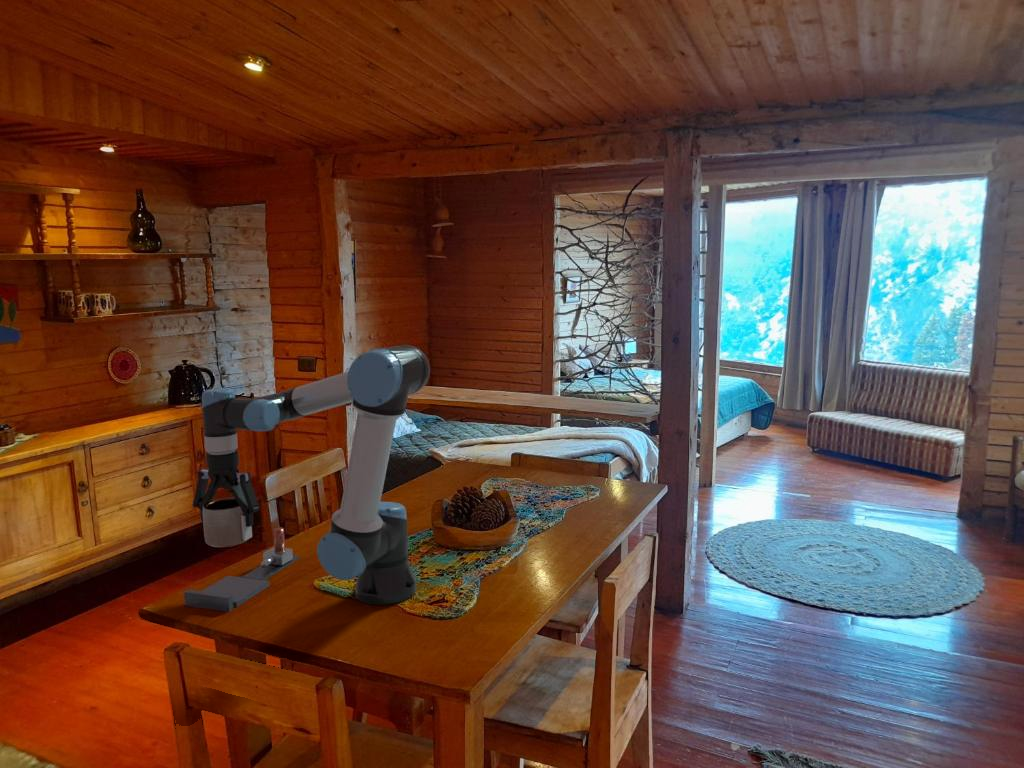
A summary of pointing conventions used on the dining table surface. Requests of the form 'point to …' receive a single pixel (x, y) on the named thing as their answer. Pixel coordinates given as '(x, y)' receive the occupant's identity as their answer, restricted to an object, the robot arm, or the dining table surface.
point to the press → (233, 589)
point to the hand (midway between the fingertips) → (228, 536)
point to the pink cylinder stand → (277, 550)
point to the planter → (222, 523)
